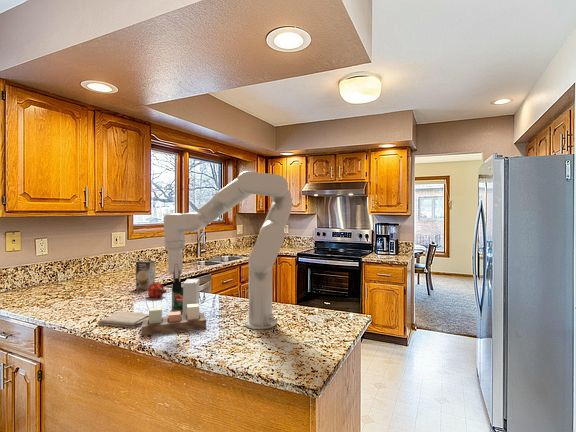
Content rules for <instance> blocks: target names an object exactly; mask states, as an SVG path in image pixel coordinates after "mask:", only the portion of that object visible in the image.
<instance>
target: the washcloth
mask: <svg viewBox="0 0 576 432" xmlns="http://www.w3.org/2000/svg"><path fill="white" fill-rule="evenodd" d="M145 318H149V313H144V312H141V311H138V312H137V311H125V310H119V311H117V312H115V313H113V314H111V315H110V316H107V317H106V316H105V317H103V318H102V319H99V320H98V325H99V324H100V325H99V326H109V325H111V326H110V327H120V326H123V327H122V328H130V329H131V328H132V329H135V328H137V327H138V328H139V327H140V326H142V323H143V319H145Z"/></svg>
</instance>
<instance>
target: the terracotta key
mask: <svg viewBox="0 0 576 432" xmlns="http://www.w3.org/2000/svg"><path fill="white" fill-rule="evenodd" d="M181 315H182V313H181V311H169V312H168V316H169V322H174V321H181Z"/></svg>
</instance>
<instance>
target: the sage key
mask: <svg viewBox="0 0 576 432" xmlns="http://www.w3.org/2000/svg"><path fill="white" fill-rule="evenodd" d="M162 308H163V307H162V306H155V307H149V308H148V314H149V324H154V323H162V317H163V316H162V315H163V311H162Z"/></svg>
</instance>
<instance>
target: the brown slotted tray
mask: <svg viewBox="0 0 576 432" xmlns="http://www.w3.org/2000/svg"><path fill="white" fill-rule="evenodd" d="M202 329H207V319H206V316H205V312H199V319H193V320H187V314H185V315H183V314H181V321H174V322H169V315H167V316H162V323H154V324H149V318H145V319H143V323H142V325H141V336H150V335H159V334H166V333H169V334H170V333H176V332H186V331H191V330H192V331H194V330H202Z"/></svg>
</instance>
